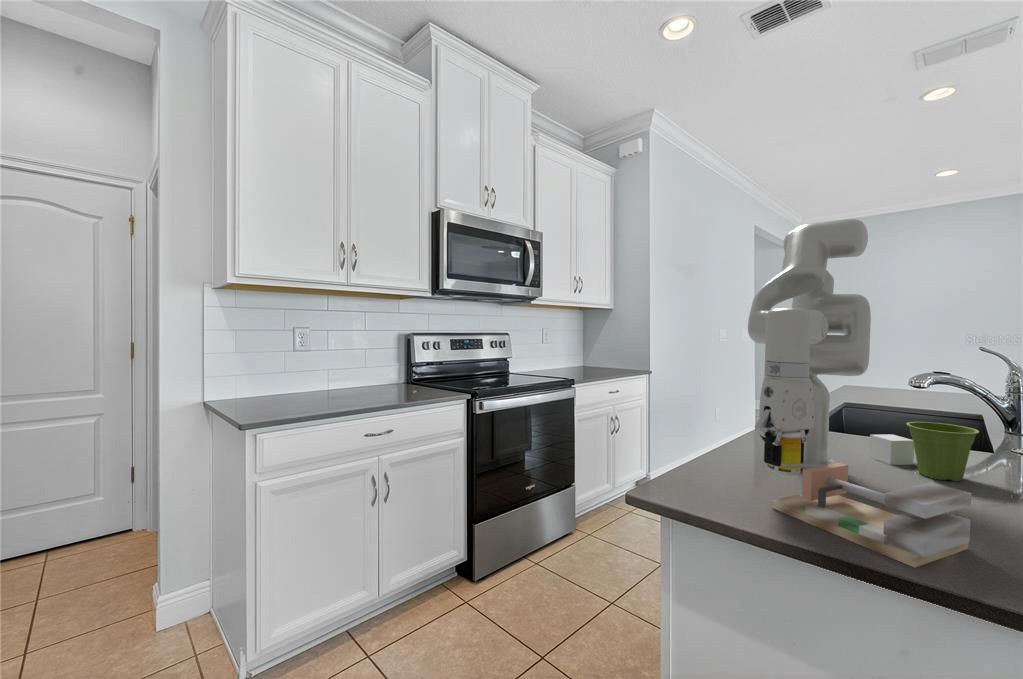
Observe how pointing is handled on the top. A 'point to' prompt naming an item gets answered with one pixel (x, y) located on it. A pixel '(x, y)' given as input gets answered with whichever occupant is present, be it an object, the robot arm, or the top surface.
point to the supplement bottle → (789, 454)
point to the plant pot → (941, 449)
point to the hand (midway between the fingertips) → (783, 461)
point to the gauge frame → (893, 521)
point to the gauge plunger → (833, 484)
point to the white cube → (892, 449)
